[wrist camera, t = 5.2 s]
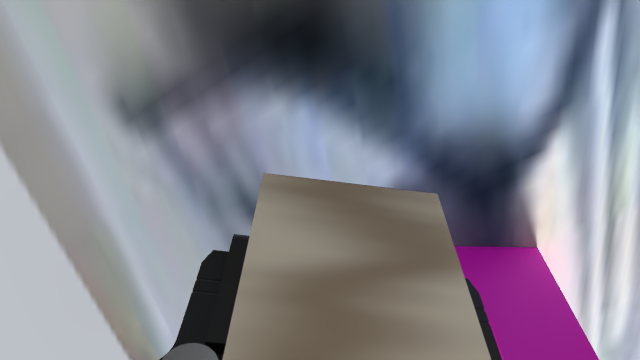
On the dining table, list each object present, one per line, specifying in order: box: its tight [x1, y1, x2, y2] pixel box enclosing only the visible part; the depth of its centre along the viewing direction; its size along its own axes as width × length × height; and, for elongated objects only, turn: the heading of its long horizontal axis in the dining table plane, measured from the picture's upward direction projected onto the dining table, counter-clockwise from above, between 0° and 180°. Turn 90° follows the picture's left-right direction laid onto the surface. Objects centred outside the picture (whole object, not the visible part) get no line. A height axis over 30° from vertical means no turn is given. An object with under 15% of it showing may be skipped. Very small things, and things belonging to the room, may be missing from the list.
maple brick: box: [222, 173, 491, 360], centre depth 12 cm, size 5×5×6 cm
